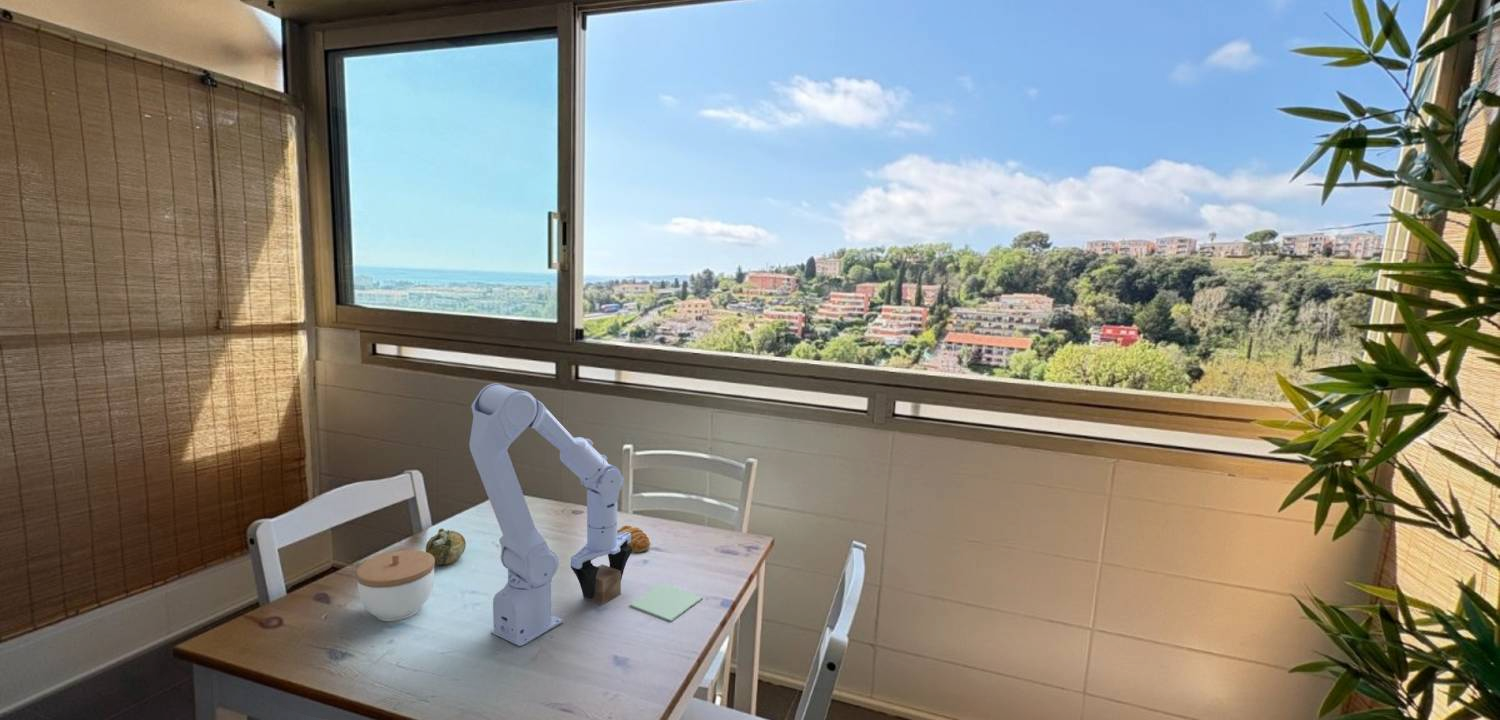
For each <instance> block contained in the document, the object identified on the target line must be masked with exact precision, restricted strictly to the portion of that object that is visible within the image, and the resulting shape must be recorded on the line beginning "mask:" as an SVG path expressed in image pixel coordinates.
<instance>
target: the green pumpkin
mask: <svg viewBox="0 0 1500 720" xmlns="http://www.w3.org/2000/svg"><path fill="white" fill-rule="evenodd" d="M437 531H438V532H437V533H436V534H435V535H433V536H431V537H430V538H429V540H428V541H427V542H426V544H425V552H428V553H430V554H431V555H432V556H433V557H434V559H435V565H438V566H445V565H450V564H453V563H454V562H455V563H456V561H458V560H459V559H460V558H461V557H462V555H463V554H464V553H465V550H466V547H467V546H466V543H467V542H466V539H465V537H464V536H463V535H462V534H461V533H459V532H458V531H455V530H452V529H451V530H449V529H447V530H445V529H444V528H439V529H438V530H437Z"/></svg>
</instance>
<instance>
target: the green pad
mask: <svg viewBox="0 0 1500 720" xmlns="http://www.w3.org/2000/svg"><path fill="white" fill-rule="evenodd" d="M701 599H702V600H703V599H704V598H703V596H701V595H698V594H695V593H692V592H689V591H687V590H684V589H682V588H681V589H680V588H678V587H674V586H671V585H669V584H666V583H661V584H659V585H658V586H656V587H654V588H653V589H651V590H649V591H648V592H646V593H645V594H643V595H641V596H640V597H638V598H637V599H635V600H634V601H632V602H631V603H629V607H631V608H634V609H636V610H639V611H642V612H644V613H647V614H649V615H651V616H654V617H658V618H659V619H663V620H665V621H667V620H669V621H668V622H670V621H672V622H673V621H674V620H675V618H676V617H677V618H678V617H680V616H681V615H682V614H681V613H683V612H684V611H685V612H687V611H688V610H690V607H691V606H692V607H693V605H694V604H695V603H696V604H698V603H699V602H701V601H702V600H701ZM698 601H699V602H698ZM697 602H698V603H697ZM696 604H695V605H696ZM695 605H694V606H695ZM692 607H691V608H692ZM687 609H688V610H687ZM686 610H687V611H686ZM685 612H684V613H685ZM684 613H683V614H684ZM680 614H681V615H680ZM679 615H680V616H679ZM677 618H676V619H677Z"/></svg>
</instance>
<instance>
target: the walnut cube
mask: <svg viewBox="0 0 1500 720" xmlns="http://www.w3.org/2000/svg"><path fill="white" fill-rule="evenodd" d="M597 567H599V569H598V572H597V575H596V579H595V591H594V597H593V598H592V599H588V598H586V597H583V599H587V600H589V601H592V602H594V603H597V604H600V605H601V606H604V605H606V604H608V603H609V602H611V601H612V600H614V599H615V598H618V597H619V596H620V595H621V594H622V591H621V589H622V588H621V587H622V579H621V571H620V570H617V569H614V568H611V567H610V566H608V565H606V564H600V565H598V566H597Z"/></svg>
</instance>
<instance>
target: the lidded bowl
mask: <svg viewBox="0 0 1500 720" xmlns="http://www.w3.org/2000/svg"><path fill="white" fill-rule="evenodd" d="M435 565H436V564H435V559H434V557H433V556H432V555H431V554H430V553H428V552H426V551H424V550H419V549H418V550H417V549H416V550H415V549H409V550H407V549H406V550H398V551H392V552H388V553H383V554H380V555H377V556H375V557H372V558H369V559H368V560H367V561H364V562H363V563H361V564H360V565H359V567H358V568H357V569H356V571H355V577H356V581H357V591H358V595H359V599H360V602H361V604H362V605H363V607H364V609H365V610H366V611H367V612H368V613H370V615H373V616H374V617H376V618H377V619H378V620H379V621H382V622H397V621H401V620H405V619H408V618H410V617H412V616H414V615H416V614H417V613H418V612H419V611H420V610H421V607H422V606H423V605H424V604H425V603H426V602H427V600H428V599H429V597H430V595H431V593H432V590H433V588H434V583H435V582H434V581H435Z"/></svg>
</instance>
